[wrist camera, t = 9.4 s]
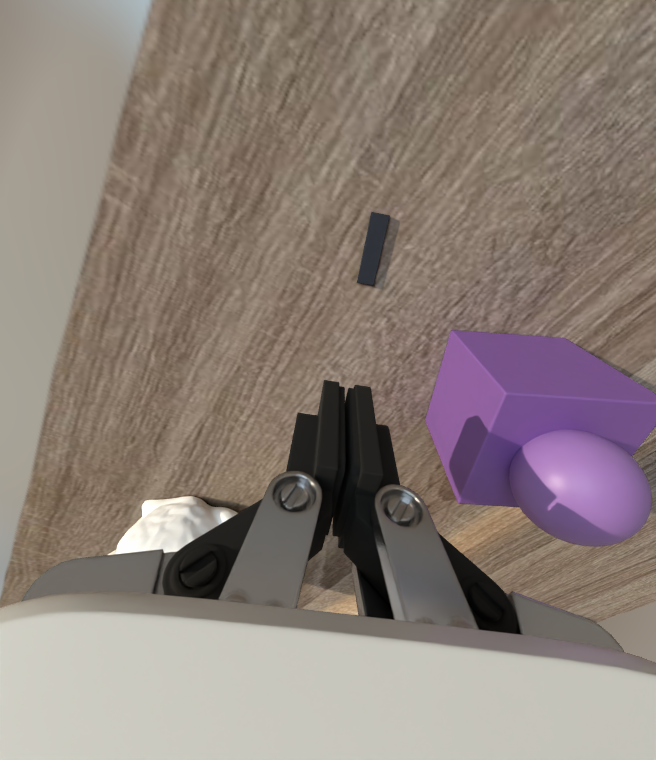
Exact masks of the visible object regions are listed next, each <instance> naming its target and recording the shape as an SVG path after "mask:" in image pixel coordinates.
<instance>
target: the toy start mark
mask: <svg viewBox="0 0 656 760" xmlns="http://www.w3.org/2000/svg"><path fill="white" fill-rule="evenodd" d="M389 217H390V216H389V215H384V214H379V213H373V212H371V217H370V222H369V227H368V232H367V237H366V241H365V246H364V251H363V256H362V261H361V266H360V271H359V275H358V280H357V283H362V284H368V285H374V281H375V277H376V273H377V268H378V264H379V260H380V256H381V251H382V247H383V243H384V238H385V234H386V230H387V226H388V221H389Z"/></svg>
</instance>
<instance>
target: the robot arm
mask: <svg viewBox="0 0 656 760" xmlns="http://www.w3.org/2000/svg"><path fill="white" fill-rule="evenodd" d="M332 518H333V536H338V548H344V553H345V554H346V555H347V557H348V558H349V559H350V560H351V561H352V562H351V571H352V577H353V584H354V590H355V596H356V602H357V608H358V614H359V616H357V615H348V614H339V613H330V612H322V611H313V610H304V609H297V604H298V600H299V596H300V592H301V588H302V583H303V579H304V575H305V571H306V567H307V562H308V561H309V560H310V559H311V558H312V557H313V556H315V555H316V554H317V553H318V552H319V551H321V550H322V547H323V543H324V540H325V536H326V535H328V533H329V529H330V526H331V522H332ZM0 760H656V663H655V662H652V661H649V660H647V659H644V658H642V657H639V656H635V655H632V654H628V653H625V652H624V650H623V649H622V647H621V646H620V645H619V644H618V642H617V641H616V640H615V639H614V638H613V637H612V635H611V634H609V633H608V632H607V631H606V630H605V629H603V628H602V627H601V626H600V625H598V624H596V623H594V622H593V621H591V620H589V619H586V618H584V617H581V616H578V615H575V614H573V613H570V612H567V611H564V610H562V609H559V608H556V607H554V606H551V605H548V604H545V603H543V602H540V601H537V600H534V599H532V598H529V597H526V596H523V595H521V594H518V593H515V592H513V591H512V592H511V593H510V594H506V593H504V591H503V590H502V589H501V588H500V587H499V586H498V585H497V584H496V583H495V582H494V581H493V580H492V579H491V578H489V577H488V576H487V575H486V574H485V573H484V572H482V571H481V570H480V569H479V568H478V567H477V566H476V565H474V564H473V563H472V562H471V561H470V560H469V559H468V558H466V557H465V556H464V555H463V554H462V553H461V552H460V551H458V550H457V549H456V548H455V547H454V546H453V545H452V544H450V543H449V542H448V541H447V540H446V539H445V538H443V537H442V536H441V535H440V534H439V533H438V532H437V530H436V527H435V525H434V523H433V520H432V518H431V515H430V513H429V511H428V508H427V506H426V505H425V503H424V501H423V500H422V499H421V497H420V496H419V495H418V494H417V493H415V492H414V491H412V490H411V489H409V488H407V487H404V486H402V485H400V482H399V477H398V472H397V467H396V462H395V457H394V452H393V447H392V442H391V437H390V432H389V428H388V426H385V425H378V424H376V421H375V414H374V407H373V400H372V393H371V388H370V387H366V386H360V385H355V386H354V389H353V388H349V389H348V392H347V396H346V401H345V388H344V387H340V386H339V382H333V381H327V380H324V383H323V389H322V394H321V400H320V406H319V411H318V416H317V415H310V414H303V413H298V414H297V419H296V424H295V429H294V434H293V439H292V445H291V450H290V455H289V460H288V465H287V470H286V472H284V473H282V474H279V475H278V476H276V477H275V478H274V479H273V480H272V481H271V483H270V484H269V486H268V488H267V490H266V492H265V495H264V497H263V499H262V500H260V501H258V502H257V503H255V504H253V505H252V506H250V507H248V508H247V509H245V510H243V511H241V512H240V513H238V514H236V515H235V516H233V517H231V518H230V519H228V520H226V521H225V522H223V523H221V524H220V525H218V526H216V527H215V528H213V529H211V530H210V531H208V532H206V533H205V534H203V535H201V536H200V537H198V538H196V539H195V540H193V541H191V542H190V543H188V544H186V545H185V546H184V547H182V548H181V549H180V550H178V551H176V552H167V553H164V551H163V549H159V550H150V551H141V552H131V553H122V554H113V555H104V556H95V557H86V558H77V559H72V560H68V561H64V562H61V563H59V564H58V565H56V566H54V567H52V568H50V569H48V570H47V571H46V572H45V573H43V574H42V575H41V576H40V577H39V578H38V579H36V580H35V581H34V583H33V584H32V585H31V587H30V588H29V590H28V591H27V592H26V594H25V595H24V597H23V599H22V601H21V602H18V603H15V604H12V605H8V606H5V607H2V608H0Z"/></svg>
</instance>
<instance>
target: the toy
mask: <svg viewBox="0 0 656 760" xmlns="http://www.w3.org/2000/svg"><path fill="white" fill-rule="evenodd" d="M425 422H426V424H427V427H428V429H429V432H430V434H431V437H432V439H433V442H434V444H435V447H436V449H437V452H438V454H439V457H440V459H441V462H442V464H443V467H444V469H445V472H446V474H447V477H448V479H449V482H450V484H451V487H452V489H453V492H454V495H455V497H456V500H457V502H458V503H459V504H475V505H491V506H507V507H520V508H521V510H522V511H523V513H524V514H525V515H526V516H527V517H528V518H529V519H530V520H531V521H532V522H533V523H534V524H535V525H537V526H538V527H539V528H541V529H542V530H544V531H545V532H547V533H548V534H550V535H552V536H554V537H556V538H558V539H561V540H563V541H566V542H569V543H573V544H577V545H582V546H594V547H598V546H607V545H613V544H617V543H620V542H622V541H624V540H626V539H628V538H630V537H631V536H633V535H634V534H636V533H637V532H638V531H639V530H640V529H641V528H642V527H643V525H644V524H645V522H646V521H647V519H648V516H649V514H650V511H651V504H652V497H651V489H650V486H649V483H648V480H647V478H646V476H645V474H644V472H643V470H642V469H641V467H640V466H639V465H638V463H637V462H636V461H635V460H634V459H633V458H632V455H633V454H634V453H635V452H636V450H637V449H638V448H639V446H640V445H641V444H642V443H643V441H644V440H645V439H646V438H647V436H648V435H649V434H650V432H651V431H652V430H653V429H654V427H655V426H656V394H655V393H653V392H652V391H650V390H648V389H647V388H645V387H643V386H642V385H640V384H639V383H637V382H635V381H634V380H632V379H630V378H629V377H627V376H626V375H624V374H622V373H621V372H619V371H617V370H616V369H614V368H613V367H611V366H609V365H608V364H606V363H604V362H603V361H601V360H600V359H598V358H596V357H595V356H593V355H591V354H590V353H588V352H587V351H585V350H583V349H582V348H580V347H578V346H577V345H575V344H574V343H572V342H570V341H569V340H567V339H565V338H558V337H543V336H529V335H514V334H500V333H485V332H471V331H456V330H452V331H451V332H450V336H449V339H448V343H447V346H446V350H445V353H444V357H443V360H442V364H441V367H440V371H439V374H438V378H437V381H436V385H435V388H434V392H433V395H432V399H431V402H430V406H429V409H428V413H427V416H426V420H425Z"/></svg>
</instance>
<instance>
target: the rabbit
mask: <svg viewBox="0 0 656 760" xmlns="http://www.w3.org/2000/svg"><path fill="white" fill-rule="evenodd" d="M236 514H238V513H237V512H236V511H234V510H231V509H229V508H225V507H212V506H210V505H208V504H207V503H205V502H204V501H203V500H202V499H199V498H197V497H194V496H187V497H178V498H172V499H160V500H154V499H153V500H147V501H145V502H144V504H143V505H142V518H141V519H139V520H138V521H137V523H136V524H135V525H133V526H132V527H131V528H130V529H129V530H128V531H127V532H126V534H125V535H124V537H123V538H122V539H121V540H120V542H119V544H118V546H117V550H115V551H113V552H111V553H110V554H108V555H113V554H122V553H131V552H141V551H150V550H159V549H163V551H164V553H167V552H176V551H178V550H180V549H181V548H182V547H184V546H185V545H186V544H188V543H190V542H191V541H193V540H195V539H196V538H198V537H200V536H201V535H203V534H205V533H206V532H208V531H210V530H211V529H213V528H215V527H216V526H218V525H220V524H221V523H223V522H225V521H226V520H228V519H230V518H231V517H233V516H235V515H236Z"/></svg>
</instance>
